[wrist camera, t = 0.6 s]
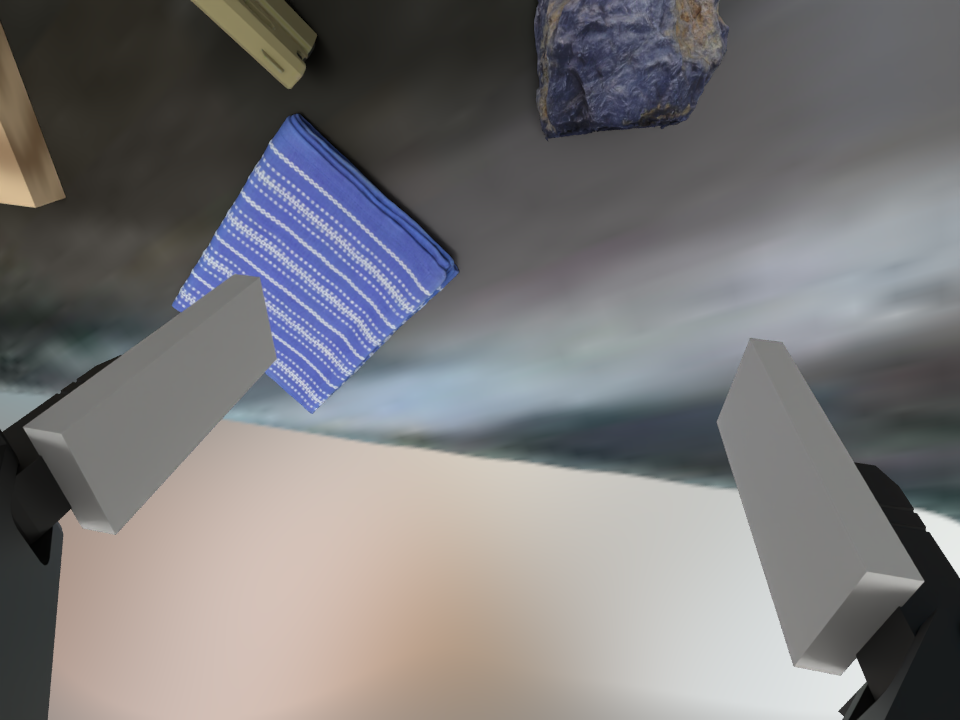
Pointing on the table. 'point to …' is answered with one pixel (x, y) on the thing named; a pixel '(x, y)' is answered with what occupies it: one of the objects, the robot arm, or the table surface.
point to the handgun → (266, 34)
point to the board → (22, 142)
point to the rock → (623, 62)
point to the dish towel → (321, 261)
